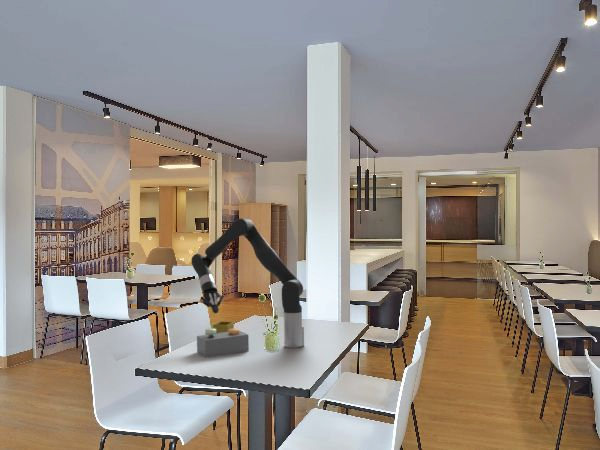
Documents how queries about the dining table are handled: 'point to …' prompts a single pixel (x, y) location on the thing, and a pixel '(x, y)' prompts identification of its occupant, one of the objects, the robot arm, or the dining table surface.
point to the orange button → (233, 331)
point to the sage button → (210, 332)
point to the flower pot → (223, 326)
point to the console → (222, 344)
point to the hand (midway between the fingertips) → (216, 312)
